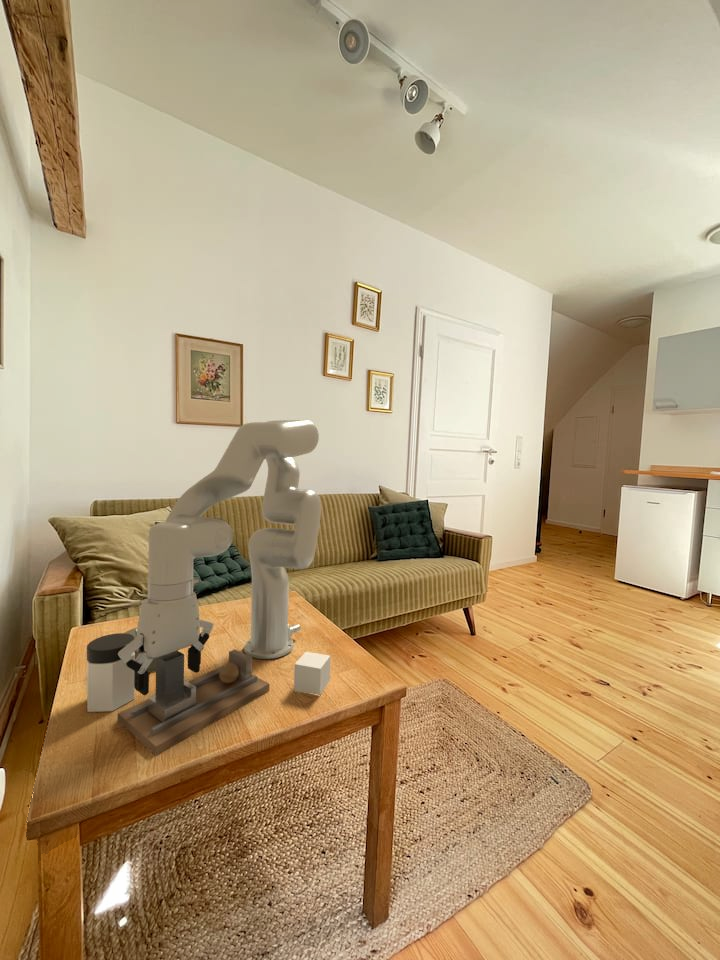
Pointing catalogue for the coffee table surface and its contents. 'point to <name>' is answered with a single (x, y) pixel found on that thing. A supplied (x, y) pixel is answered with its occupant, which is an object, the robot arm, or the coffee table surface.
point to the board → (198, 704)
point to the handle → (171, 688)
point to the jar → (108, 673)
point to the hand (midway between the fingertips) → (169, 680)
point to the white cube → (312, 673)
